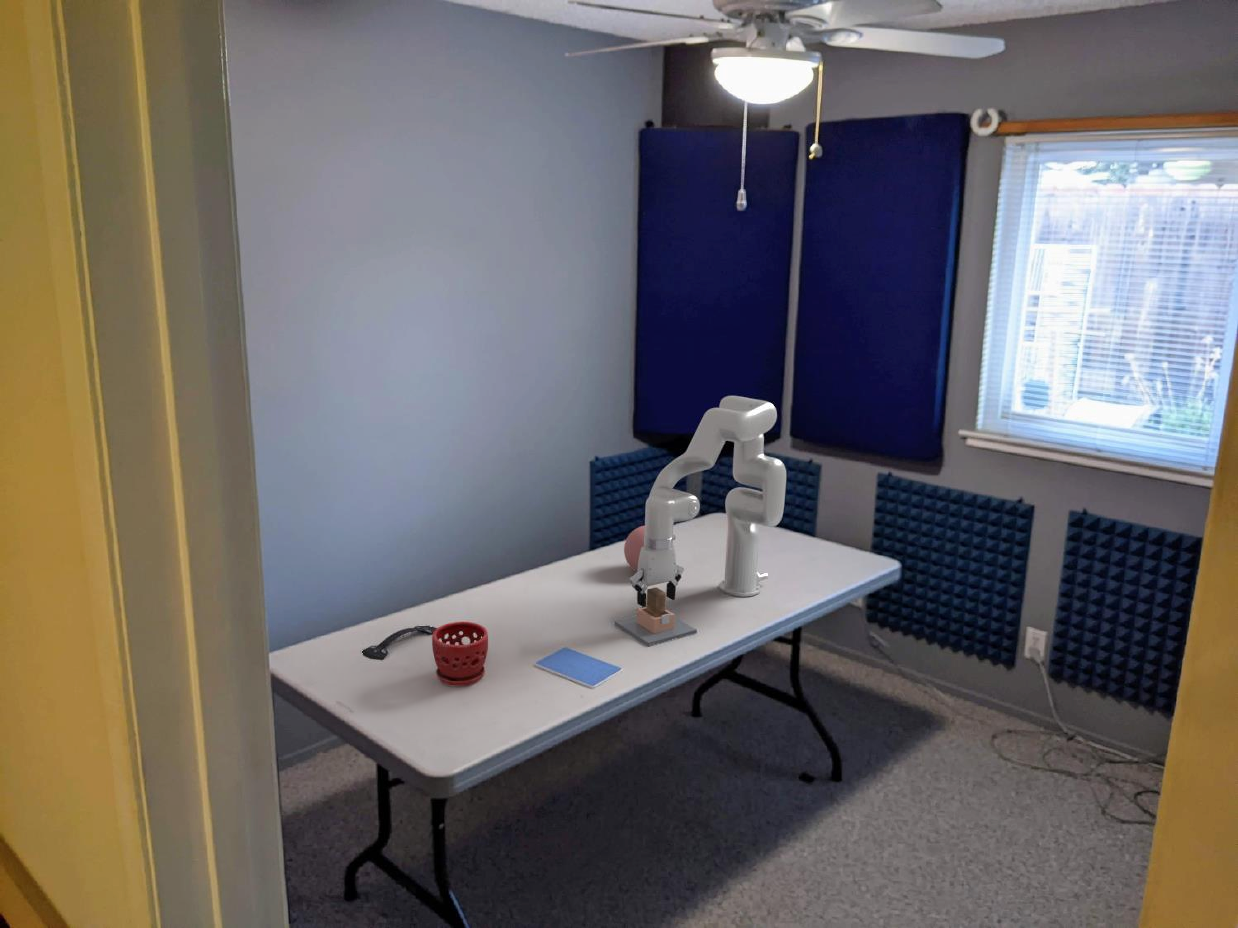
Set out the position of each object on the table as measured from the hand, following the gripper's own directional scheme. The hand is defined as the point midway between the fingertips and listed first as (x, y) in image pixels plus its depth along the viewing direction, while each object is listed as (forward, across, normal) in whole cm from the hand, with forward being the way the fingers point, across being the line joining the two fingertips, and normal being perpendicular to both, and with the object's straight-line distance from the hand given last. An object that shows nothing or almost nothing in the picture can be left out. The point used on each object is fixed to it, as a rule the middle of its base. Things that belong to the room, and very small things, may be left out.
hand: (656, 601), depth 256 cm
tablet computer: (+9, +30, +9) cm, 32 cm away
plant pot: (+8, +57, -1) cm, 58 cm away
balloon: (+8, -25, -36) cm, 45 cm away
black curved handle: (+9, +62, -27) cm, 68 cm away
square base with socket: (+8, 0, 0) cm, 8 cm away
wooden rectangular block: (+7, 0, 0) cm, 7 cm away
